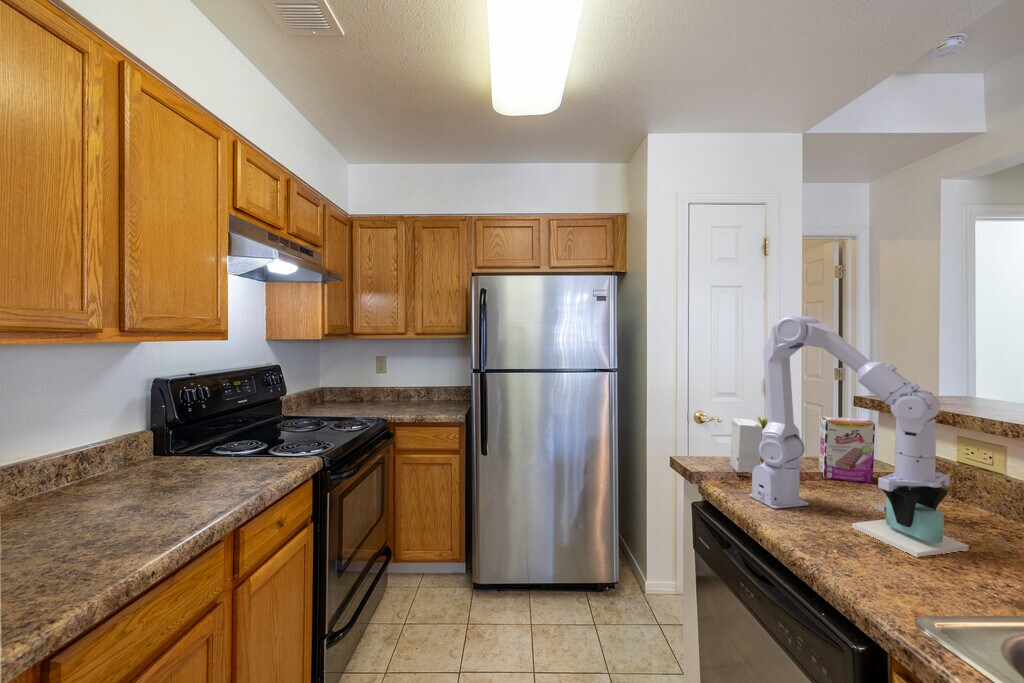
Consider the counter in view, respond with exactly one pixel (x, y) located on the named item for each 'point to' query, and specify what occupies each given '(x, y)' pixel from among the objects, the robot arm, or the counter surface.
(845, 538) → the counter surface
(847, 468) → the candy bar box
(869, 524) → the tile
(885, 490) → the robot arm
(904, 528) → the plug block
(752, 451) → the skincare box
